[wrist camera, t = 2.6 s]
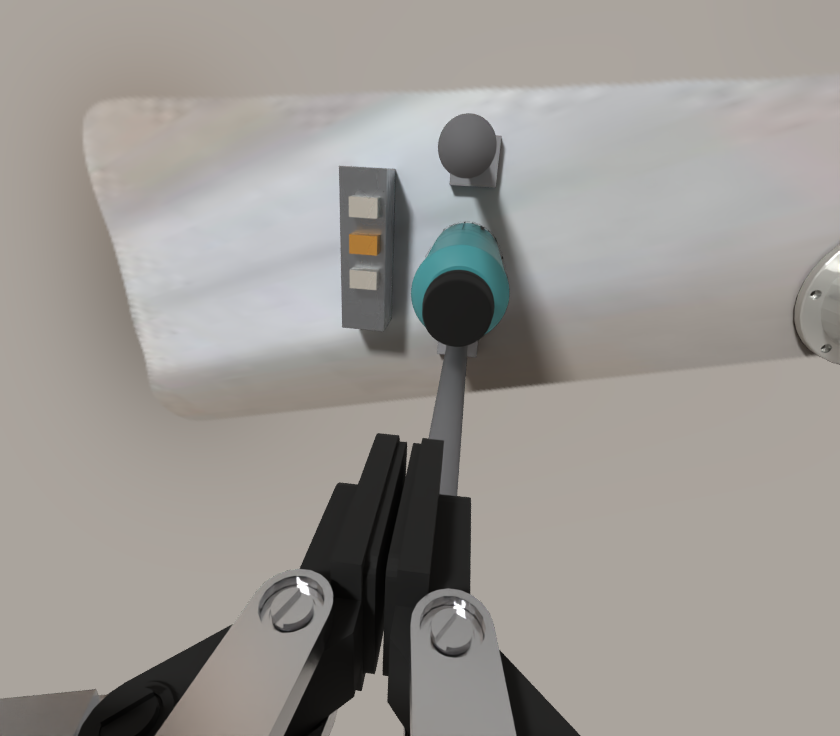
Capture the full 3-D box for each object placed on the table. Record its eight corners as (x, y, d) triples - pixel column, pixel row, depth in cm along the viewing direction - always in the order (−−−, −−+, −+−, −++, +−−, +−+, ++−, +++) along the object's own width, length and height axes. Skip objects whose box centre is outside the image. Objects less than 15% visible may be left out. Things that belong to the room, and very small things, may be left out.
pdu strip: (395, 169, 40) (384, 168, 35) (391, 318, 46) (381, 335, 41) (351, 166, 40) (334, 165, 36) (353, 315, 46) (338, 331, 41)
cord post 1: (501, 136, 38) (535, 81, 14) (495, 187, 40) (517, 212, 16) (454, 134, 38) (412, 75, 15) (450, 184, 40) (407, 204, 16)
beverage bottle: (422, 274, 43) (380, 349, 25) (446, 206, 41) (419, 236, 23) (484, 298, 44) (487, 389, 26) (512, 232, 41) (539, 282, 23)
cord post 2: (480, 316, 44) (480, 482, 21) (476, 353, 46) (472, 546, 22) (440, 313, 45) (396, 471, 21) (437, 350, 46) (394, 535, 23)
